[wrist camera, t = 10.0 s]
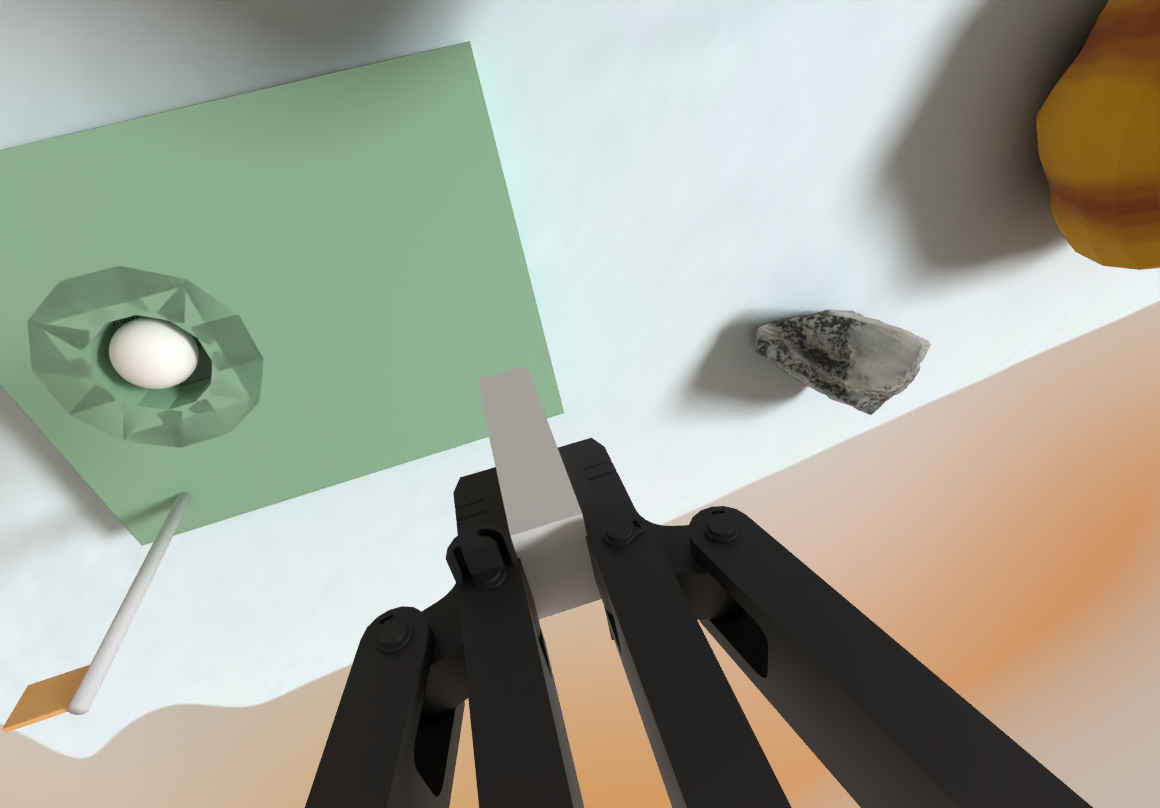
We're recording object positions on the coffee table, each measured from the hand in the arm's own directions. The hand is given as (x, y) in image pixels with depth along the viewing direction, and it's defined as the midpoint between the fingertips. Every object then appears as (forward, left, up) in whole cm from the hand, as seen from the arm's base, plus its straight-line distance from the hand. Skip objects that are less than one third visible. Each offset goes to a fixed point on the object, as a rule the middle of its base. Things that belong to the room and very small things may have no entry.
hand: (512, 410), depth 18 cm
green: (+2, -12, -21) cm, 24 cm away
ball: (+1, -18, -19) cm, 26 cm away
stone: (+15, +24, -21) cm, 35 cm away
